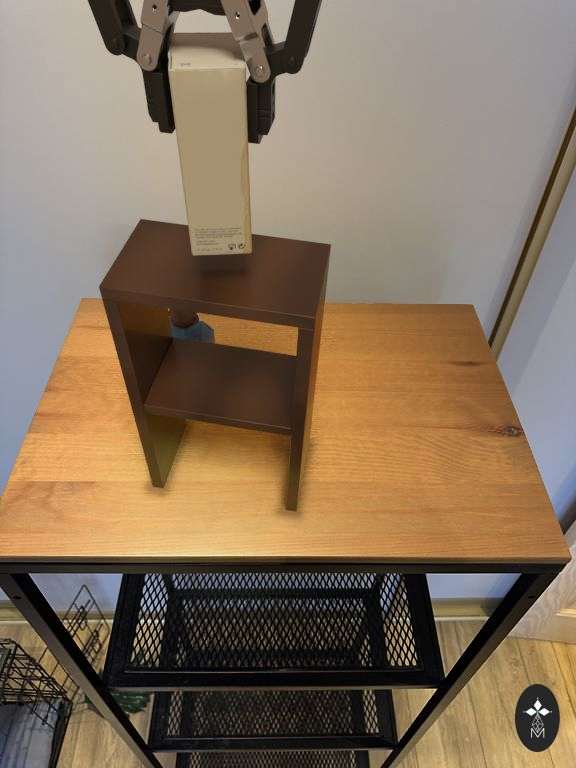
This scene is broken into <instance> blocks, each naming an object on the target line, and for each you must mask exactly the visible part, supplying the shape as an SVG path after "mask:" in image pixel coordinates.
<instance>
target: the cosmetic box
mask: <svg viewBox="0 0 576 768" xmlns="http://www.w3.org/2000/svg"><path fill="white" fill-rule="evenodd" d="M168 58H169V65H168V74H169V81H170V90H171V97H172V105H173V113H174V121H175V128H176V129H175V136H176V143H177V149H178V157H179V165H180V174H181V180H182V188H183V189H182V190H183V197H184V198H183V199H184V205H185V212H186V220H187V225H188V228H189V235H190V243H191V252H192V255H194V256H197V255H226V254H249V253H252V234H253V233H252V211H251V209H252V207H251V184H250V160H249V159H250V158H249V156H250V154H249V143H248V128H247V94H246V82H247V64H246V61H245V59H244V56H243V53H242V50H241V47H240V45H239V43H238V42H237V41H236V40H235V38H234V36H233V34H232V31H230V32H229V31H227V32H174V34H173V38H172V41H171V46H170V51H169V53H168Z"/></svg>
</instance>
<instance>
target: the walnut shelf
mask: <svg viewBox="0 0 576 768" xmlns="http://www.w3.org/2000/svg"><path fill="white" fill-rule="evenodd" d="M331 250H332V244H330V243H324V242H316V241H309V240H303V239H302V240H301V239H293V238H286V237H279V236H271V235H263V234H257V233H252V253H249V254H226V255H197V256H194V255H192V252H191V243H190V235H189V228H188V224H184V223H183V224H182V223H174V222H166V221H161V220H152V219H144V218H140V219H139V221H138V222H137V224H136V226H135V227H134V228H133V230H132V232H131V234H130V235H129V237H128V238H127V240H126V241H125V243H124V245H123V246H122V248H121V250H120V252H119V253H118V255H117V256H116V258H115V259H114V261H113V263H112V265H111V266H110V268H109V269H108V271H107V272H106V274H105V276H104V277H103V279H102V280H101V282H100V284H99V285H98V289H99V292H100V297H101V299H102V300H101V301H102V305H103V307H104V311H105V315H106V318H107V322H108V326H109V330H110V333H111V337H112V341H113V345H114V349H115V352H116V355H117V360H118V363H119V368H120V371H121V374H122V377H123V381H124V386H125V389H126V392H127V396H128V401H129V405H130V407H131V411H132V415H133V419H134V423H135V426H136V430H137V433H138V436H139V440H140V445H141V446H142V447H141V448H142V451H143V455H144V459H145V462H146V466H147V470H148V473H149V477H150V480H151V485H152V487H153V488H159V489H164V488H165V485H166V483H167V480H168V477H169V474H170V471H171V468H172V465H173V463H174V460H175V457H176V454H177V452H178V450H179V447H180V445H181V441H182V439H183V436H184V432H185V431H186V427H187V425H188V424H187V420H188V421H193V422H199V423H206V424H212V425H216V426H217V425H219V426H222V427H223V426H224V427H229V428H236V429H243V430H247V431H255V432H260V433H266V434H273V435H277V436H278V435H279V436H285V437H290V440H289V441H290V443H289V454H288V455H289V458H288V471H287V484H286V485H287V486H286V498H285V499H286V500H285V510H286V511H291V512H294V513H295V512H297V511H298V507H299V501H300V496H301V490H302V485H303V479H304V474H305V468H306V463H307V457H308V451H309V446H310V439H311V431H312V430H311V429H312V422H313V421H312V420H313V412H314V403H315V395H316V386H317V385H316V384H317V376H318V366H319V356H320V350H321V341H322V332H323V331H322V330H323V323H324V322H323V320H324V315H325V314H324V313H325V305H326V295H327V286H328V277H329V270H330V269H329V268H330V259H331ZM169 309H175V310H182V311H189V312H196V313H197V314H202V315H203V314H204V315H211V316H215V317H216V316H217V317H224V318H231V319H237V320H245V321H249V322H250V321H251V322H257V323H258V322H259V323H264V324H272V325H279V326H286V327H290V328H291V327H292V328H297V339H296V340H297V341H296V353H295V354H296V355H293V354H287V353H282V352H281V353H280V352H274V351H269V350H261V349H255V348H248V347H242V346H235V345H229V344H221V343H216V342H215V343H209V342H203V341H196V340H189V339H183V338H176V337H173V336H172V330H171V323H170V317H169Z"/></svg>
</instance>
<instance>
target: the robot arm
mask: <svg viewBox="0 0 576 768" xmlns="http://www.w3.org/2000/svg"><path fill="white" fill-rule="evenodd" d="M87 3H88V5H89V7H90V11H91V13H92V16H93V18H94V20H95V23H96V26H97V29H98V31H99V34H100V37H101V39H102V42H103V44H104V46H105V48H106V50H107V52H109V53H110V54H111V55H113V56H122V55H123V56H125V57H127V58H129V59H131V60H133V61H134V62H135V63H137V65H138V66H139V68H140V70H141V73H142V78H143V79H142V82H143V87H144V94H145V97H146V98H145V99H146V107H147V112H148V113H147V114H148V115H149V118H150V119H151V122H152V123H156V124H157V127H158V130H159V132H160V133H161V134H162V133H163V134H171V135H172V134H173V133H174V132H175V131H176V128H175V121H174V113H173V105H172V97H171V90H170V81H169V74H168V65H169V52H170V46H171V41H172V38H173V34H174V33H175V30H176V24H177V21H178V18H179V17H180V14H181V13H188V12H193V11H197V10H201V11H203V12H206V13H208V14H211V15H213V16H220V17H221V16H222V17H226V19H227V22H228V26H229V28H230V32H232V34H233V36H234V38H235V40H236V41H237V42H238V43H239V45H240V47H241V50H242V53H243V56H244V59H245V61H246V68H247V70H248V73H249V77H247V78H248V79H246V94H247V128H248V144H254V145H255V144H256V145H260V144H261V142H262V140H263V138H264V136H268V135H269V133H270V131H271V129H272V126H273V124H274V121H275V119H276V86H277V85H276V84H277V83H276V81H277V77H278V76H281V75H284V74H289V75H296V74H298V73H299V72H300V71H301V70H302V69H303V68H302V67H303V65H304V63H305V59H306V57H307V56H308V54H309V51H310V48H311V43H312V40H313V36H314V33H315V29H316V26H317V22H318V17H319V14H320V10H321V6H322V3H323V0H294V3H293V7H292V12H291V16H290V19H289V24H288V29H287V33H286V36H285V40H283V41H281V42H275V39H274V35H273V32H272V29H271V27H270V23H269V12H268V8H267V5H266V1H265V0H143V3H142V8H141V14H140V24H141V27H140V26H139V24H138V21H137V19H136V16H135V13H134V9H133V7H132V3H131V1H130V0H87Z"/></svg>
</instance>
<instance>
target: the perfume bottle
mask: <svg viewBox="0 0 576 768" xmlns="http://www.w3.org/2000/svg"><path fill="white" fill-rule="evenodd" d="M168 311H169V317H170V323H171V330H172V336H173V337H176V338H183V339H189V340H196V341H203V342H209V343H216V340H215V339H216V338H215V330H214V328H213V327H212V326H211V325H209V324H208V323H206V321H204V320H200V317H199V315H198V313H196V312H189V311H182V310H175V309H169V308H168Z"/></svg>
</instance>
